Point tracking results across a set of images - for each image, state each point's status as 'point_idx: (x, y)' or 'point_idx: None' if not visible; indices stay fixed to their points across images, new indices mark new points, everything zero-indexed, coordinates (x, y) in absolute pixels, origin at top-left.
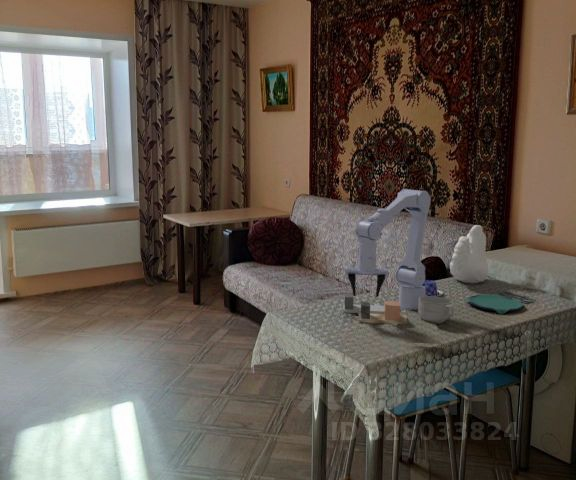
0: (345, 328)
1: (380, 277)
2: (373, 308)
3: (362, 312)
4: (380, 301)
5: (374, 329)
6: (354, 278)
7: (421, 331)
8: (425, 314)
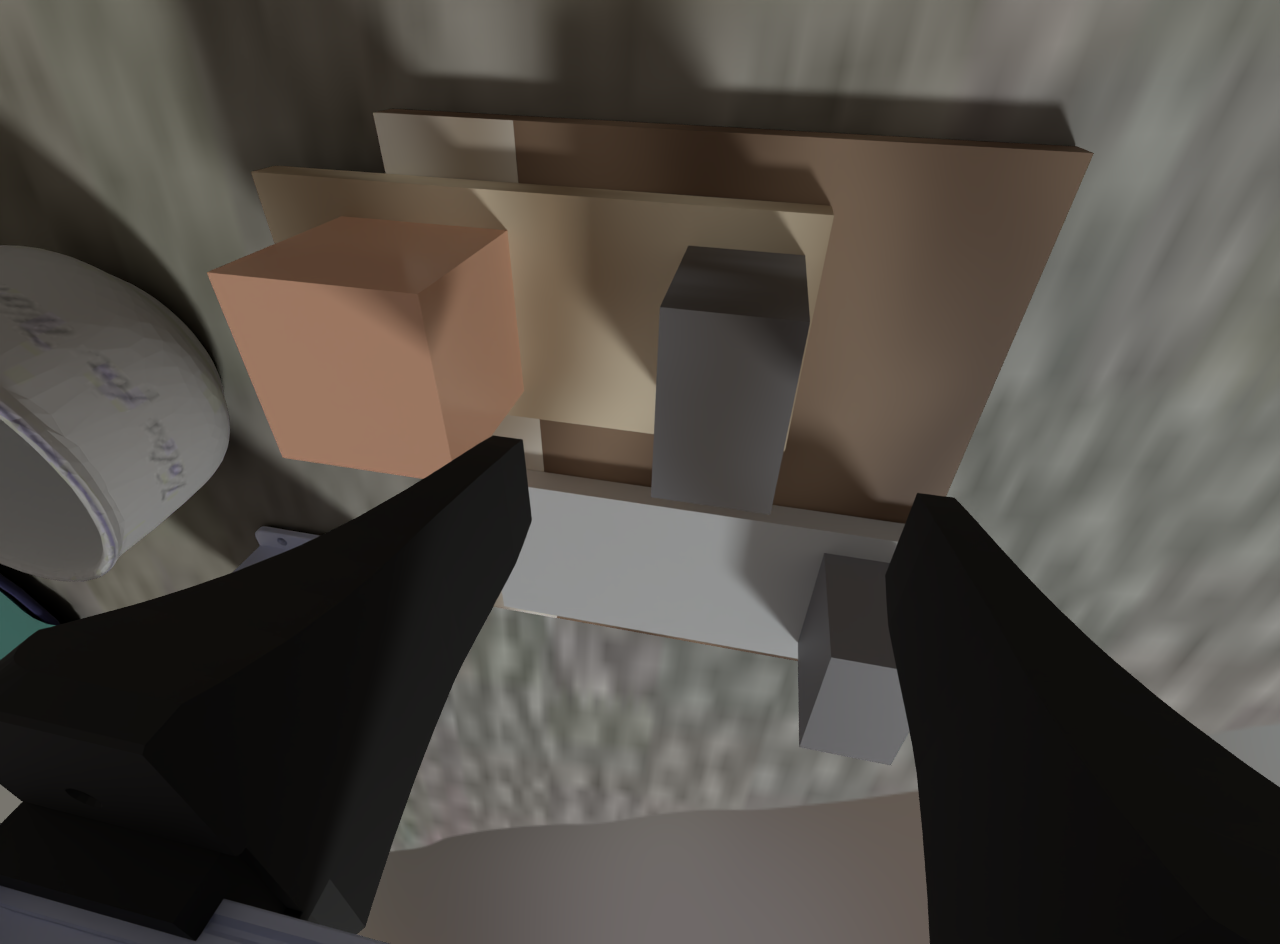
0: (1076, 31)
1: (83, 765)
2: (619, 560)
3: (785, 280)
4: (569, 721)
5: (654, 31)
6: (1274, 927)
7: (126, 13)
8: (84, 298)
